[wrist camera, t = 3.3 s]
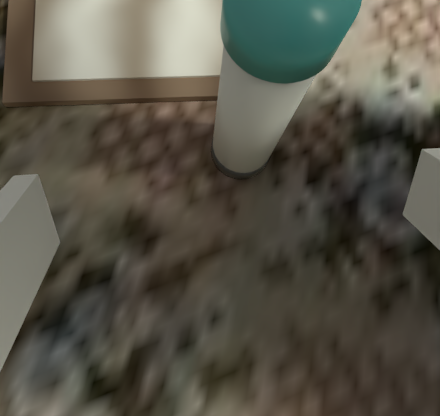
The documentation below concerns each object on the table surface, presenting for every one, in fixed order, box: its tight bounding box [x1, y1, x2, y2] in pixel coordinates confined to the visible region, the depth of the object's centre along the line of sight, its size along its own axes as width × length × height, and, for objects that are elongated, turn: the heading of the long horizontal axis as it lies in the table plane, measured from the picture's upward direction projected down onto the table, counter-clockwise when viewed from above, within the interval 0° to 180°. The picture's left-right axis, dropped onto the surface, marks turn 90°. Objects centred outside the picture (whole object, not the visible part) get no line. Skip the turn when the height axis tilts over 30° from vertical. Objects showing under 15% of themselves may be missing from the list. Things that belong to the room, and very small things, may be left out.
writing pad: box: [2, 0, 223, 107], centre depth 26 cm, size 20×16×1 cm
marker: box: [211, 0, 362, 179], centre depth 18 cm, size 4×4×14 cm
